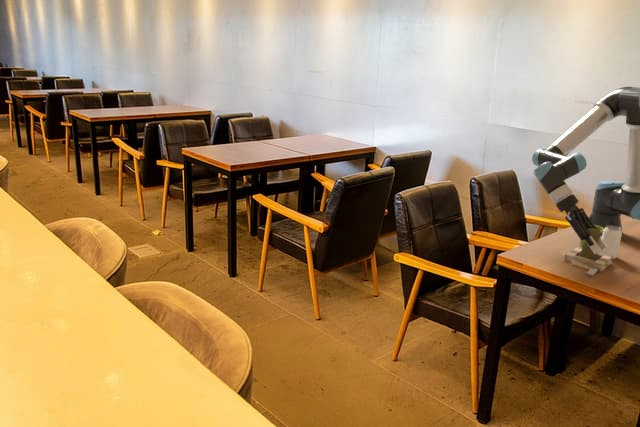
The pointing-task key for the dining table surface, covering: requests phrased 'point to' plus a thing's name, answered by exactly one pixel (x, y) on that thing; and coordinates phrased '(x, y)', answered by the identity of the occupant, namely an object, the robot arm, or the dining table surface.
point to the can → (611, 240)
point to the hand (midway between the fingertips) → (600, 250)
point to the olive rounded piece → (586, 250)
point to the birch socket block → (587, 260)
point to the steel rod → (592, 271)
